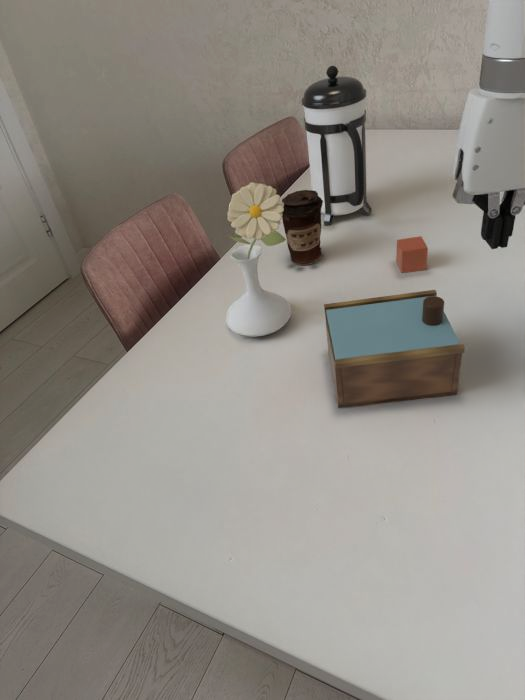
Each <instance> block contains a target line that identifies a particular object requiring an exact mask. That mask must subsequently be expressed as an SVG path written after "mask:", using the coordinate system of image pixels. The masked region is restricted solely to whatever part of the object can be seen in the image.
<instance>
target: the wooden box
mask: <svg viewBox="0 0 525 700" xmlns="http://www.w3.org/2000/svg"><path fill="white" fill-rule="evenodd" d="M437 295H438V294H437V290H436V289H430V290H422V291H414V292H407V293H406V292H405V293H399V294H392V295H391V294H390V295H384V296H378V297H369V298H362V299H354V300H347V301H339V302H332V303H326V304H325V303H324V304H323V311H324V320H325V329H326V342H327V353H328V358H329V364H330V369H331V375H332V380H333V386H334V392H335V398H336V403H337V408H338V409H342V408H343V409H344V408H352V407H361V406H368V405H378V404H385V403H386V404H387V403H395V402H403V401H413V400H421V399H422V400H423V399H431V398H439V397H446V396H455V395H458V387H459V381H460V374H461V366H462V358H463V354H464V353H465V352H466V347H465V344H463V343H460V345H452V346H444V347H436V348H427V349H419V350H411V351H403V352H395V353H387V354H379V355H370V356H362V357H354V358H346V359H338V360H335V355H334V350H333V344H332V339H331V334H330V329H329V324H328V318H327V313H326V310H330V309H337V308H345V307H353V306H360V305H368V304H375V303H383V302H391V301H398V300H406V299H413V298H421V297H429V296H436V297H438V296H437Z"/></svg>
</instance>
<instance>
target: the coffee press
mask: <svg viewBox="0 0 525 700" xmlns="http://www.w3.org/2000/svg"><path fill="white" fill-rule="evenodd" d="M325 74H326V76H327V78H323V79H320V80H317V81H315V82H313V83H312V84H310V85H309V86H308V87H307V88H306V90H305V91H304V94H303V97H302V98H301V105H302V107H303V108H304V109H303V110H304V121H303V122H304V129H305V131H306V142H307V149H308V150H307V153H308V163H309V174H310V175H309V176H310V185H311V190H313V191H316V192H317V193H318V196H319V197H320V198H321V199H322V201H323V203H322V208H321V214H323V215H324V218H323V225H325V226H332V223H333V220H334V217H335V216H343V215H348V214H349V215H350V214H352V213H355V212H357V211H360V212H361V213H362V214H364V216H369V215H370V214H371V213H372V212H373V208H372V207H371V206H370V204H369V202H368V199H367V198H368V197H367V196H368V195H367V153H366V152H367V149H366V148H367V147H366V121H367V110H366V107H365V105H366V104H365V103H366V102H365V101H366V99H367V98H366V97H367V89H366V88H364V85H363V83H362V82H361V81H360V80H359V79H358V78H355V77H352V76H351V77H350V76H338V74H339V70H338V67H337V66H336V65H330V66H329V67H327V69H326V72H325ZM364 206H365V208H366V209H367V210H368V211H367V210H366V209H365V208H364Z"/></svg>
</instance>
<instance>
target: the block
mask: <svg viewBox="0 0 525 700" xmlns="http://www.w3.org/2000/svg"><path fill="white" fill-rule="evenodd" d="M428 252H429V247H428V246H427V244H426V242H425V240H424V238H423V237H422V236H413V237H406V238H399V239H396V256H395V259H396V263H397V266H398V268H399V270H400V273H401V274H403V273H405V274H406V273H411V272H419V271H425V270H427V267H428Z"/></svg>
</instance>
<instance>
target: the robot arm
mask: <svg viewBox="0 0 525 700" xmlns="http://www.w3.org/2000/svg"><path fill="white" fill-rule="evenodd" d="M485 19H486V20H485V21H486V22H485V29H484V38H483V47H482V56H481V63H480V71H479V81H478V87H473V88H471V89H470V90H469V92H468V95H467V97H466V101H465V104H464V108H463V112H462V116H461V119H460V125H459V129H458V134H457V138H456V145H455V151H454V157H453V164H452V176H453V177H452V178H453V179H454V181H456V183H455V186H454V188H453V192H452V196H451V197H452V199H453V200H454V201H455V202H456V204H462V205H463V204H464V205H475V206H477V207H478V208H479V209H480V211H482V220H481V228H480V236H481V239H482V240H483V241H485V243H487V245H488V246H489V248H490V249H491V250H496V249H498V248H501V249H504V248H507V247H508V245H509V240H510V239H509V238H510V237H512V236H513V232H514V227H515V222H516V216H517V215H519V214H520V213H521V212H522V210H523V207H524V206H525V0H488V3H487V12H486V18H485ZM502 192H503V194H502V198H501V193H502ZM500 202H501V203H500Z"/></svg>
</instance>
